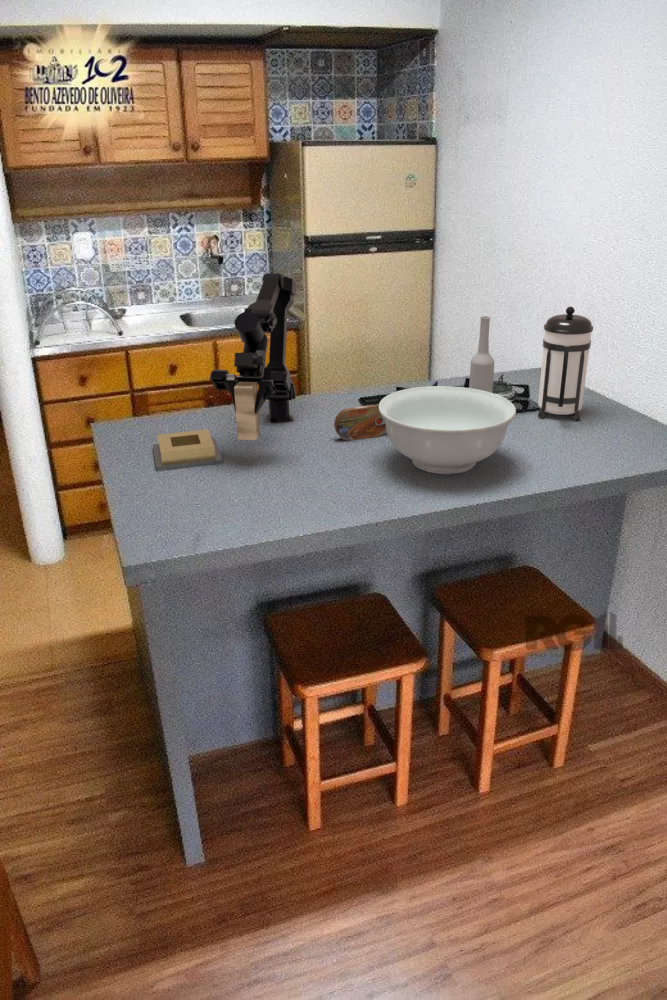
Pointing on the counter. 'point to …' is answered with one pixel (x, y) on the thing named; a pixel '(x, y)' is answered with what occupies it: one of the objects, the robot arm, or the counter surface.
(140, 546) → the counter surface
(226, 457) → the counter surface
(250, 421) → the pin
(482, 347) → the bottle
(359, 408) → the tin
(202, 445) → the socket
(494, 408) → the bowl
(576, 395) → the coffee press
